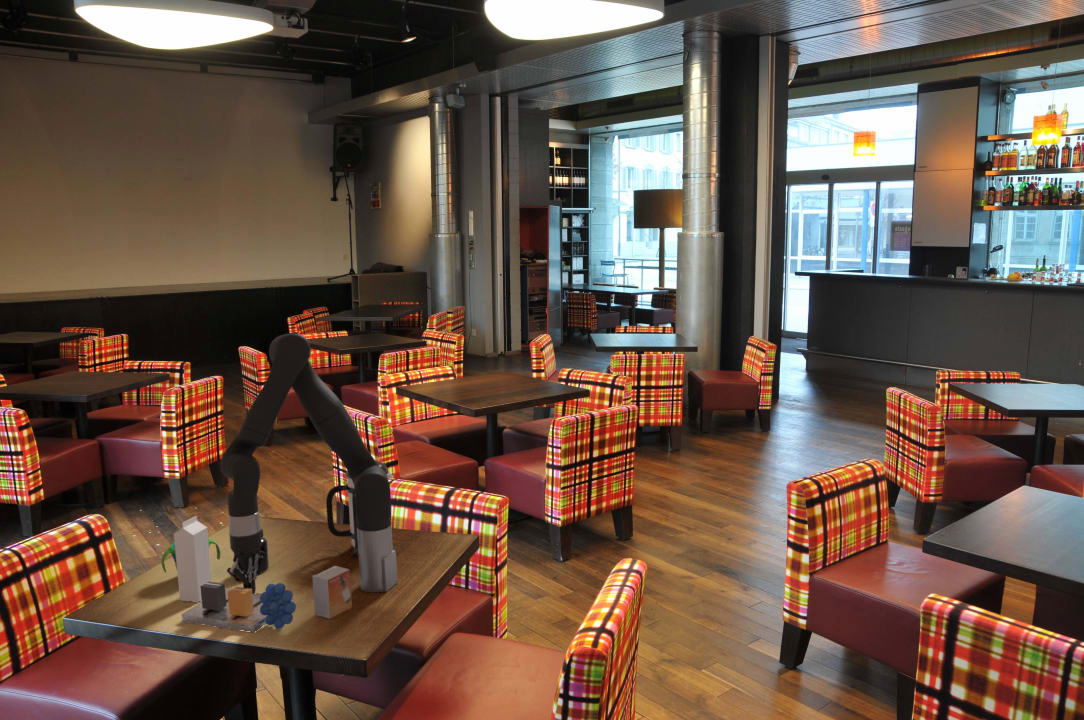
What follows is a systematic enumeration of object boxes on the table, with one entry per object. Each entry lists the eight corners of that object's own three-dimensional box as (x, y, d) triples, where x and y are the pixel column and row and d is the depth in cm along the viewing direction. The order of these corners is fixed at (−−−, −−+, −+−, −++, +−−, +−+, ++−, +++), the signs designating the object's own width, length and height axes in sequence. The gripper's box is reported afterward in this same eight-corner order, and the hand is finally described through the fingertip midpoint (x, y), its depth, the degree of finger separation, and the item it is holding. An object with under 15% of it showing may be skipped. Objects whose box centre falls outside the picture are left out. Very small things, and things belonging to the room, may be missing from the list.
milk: (179, 601, 221) (171, 522, 218) (194, 591, 227) (186, 514, 224) (199, 602, 220) (191, 523, 216) (213, 593, 225) (206, 515, 222)
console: (294, 605, 217) (293, 597, 216) (254, 633, 202) (253, 625, 201) (225, 595, 224) (224, 588, 223) (182, 621, 209) (181, 613, 208)
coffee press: (370, 535, 266) (365, 445, 262) (405, 545, 257) (401, 452, 252) (327, 553, 252) (321, 458, 248) (363, 564, 243) (357, 465, 239)
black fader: (226, 605, 212) (224, 582, 211) (218, 610, 209) (216, 587, 208) (210, 603, 213) (208, 580, 212) (202, 608, 211) (200, 585, 210)
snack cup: (165, 589, 229) (161, 554, 227) (161, 576, 238) (158, 542, 236) (224, 577, 236) (221, 543, 235) (219, 564, 245) (216, 532, 244)
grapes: (309, 626, 205) (306, 580, 203) (288, 637, 199) (286, 590, 197) (275, 616, 210) (272, 571, 209) (254, 627, 204) (251, 581, 203)
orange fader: (253, 611, 208) (251, 588, 207) (245, 616, 205) (244, 593, 204) (237, 609, 210) (235, 585, 209) (229, 614, 207) (227, 590, 206)
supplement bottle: (253, 576, 236) (250, 536, 234) (239, 571, 240) (236, 531, 238) (274, 568, 241) (271, 529, 239) (260, 563, 245) (257, 525, 244)
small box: (329, 619, 208) (327, 580, 206) (314, 615, 211) (311, 575, 209) (352, 607, 215) (350, 569, 213) (337, 602, 217) (334, 564, 216)
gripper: (239, 540, 201) (245, 607, 203) (274, 522, 213) (278, 586, 216) (214, 537, 203) (220, 604, 206) (249, 519, 215) (254, 582, 218)
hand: (250, 594), depth 211 cm, fingers closed
